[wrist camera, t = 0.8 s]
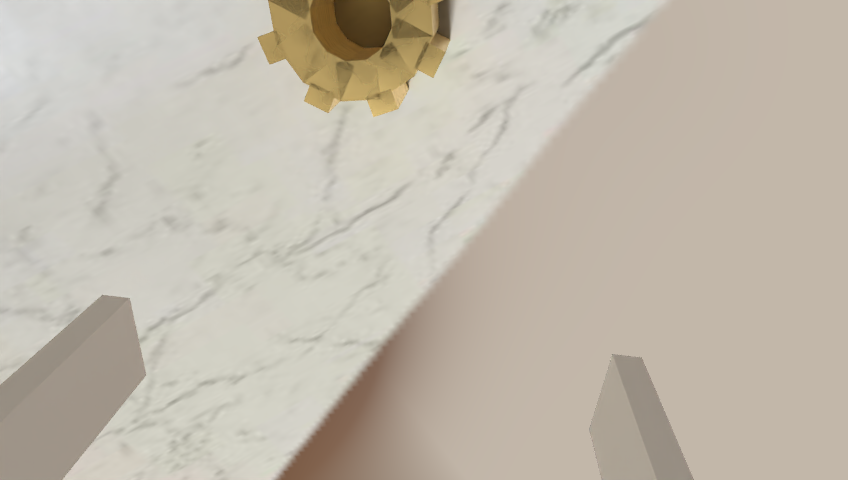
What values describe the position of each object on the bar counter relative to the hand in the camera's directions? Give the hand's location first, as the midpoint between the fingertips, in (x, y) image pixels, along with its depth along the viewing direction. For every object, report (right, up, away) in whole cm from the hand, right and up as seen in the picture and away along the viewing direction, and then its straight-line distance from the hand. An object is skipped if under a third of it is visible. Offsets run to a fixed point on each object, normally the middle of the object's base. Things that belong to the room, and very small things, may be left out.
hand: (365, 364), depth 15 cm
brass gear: (-2, +17, +16) cm, 23 cm away
